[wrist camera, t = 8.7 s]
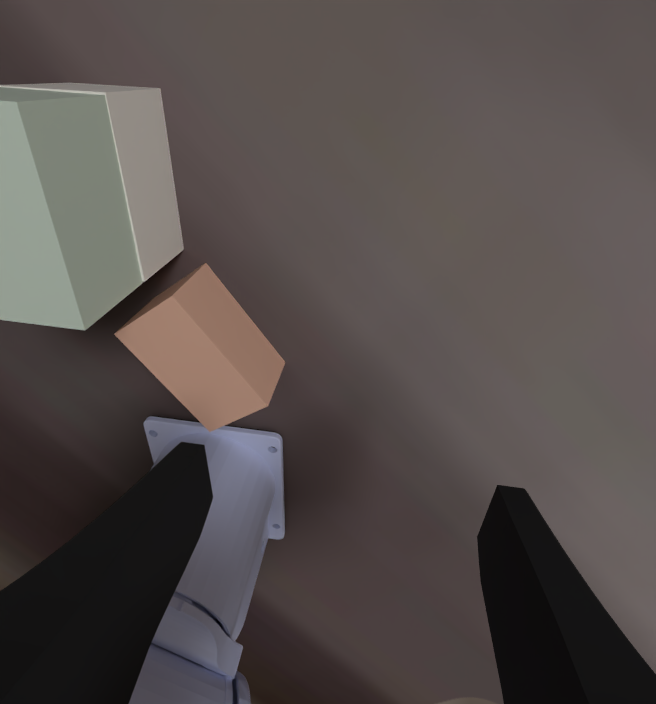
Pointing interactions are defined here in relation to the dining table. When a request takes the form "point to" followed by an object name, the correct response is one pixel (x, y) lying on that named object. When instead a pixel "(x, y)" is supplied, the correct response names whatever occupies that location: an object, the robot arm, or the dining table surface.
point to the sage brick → (61, 211)
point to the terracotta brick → (205, 350)
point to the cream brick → (140, 167)
